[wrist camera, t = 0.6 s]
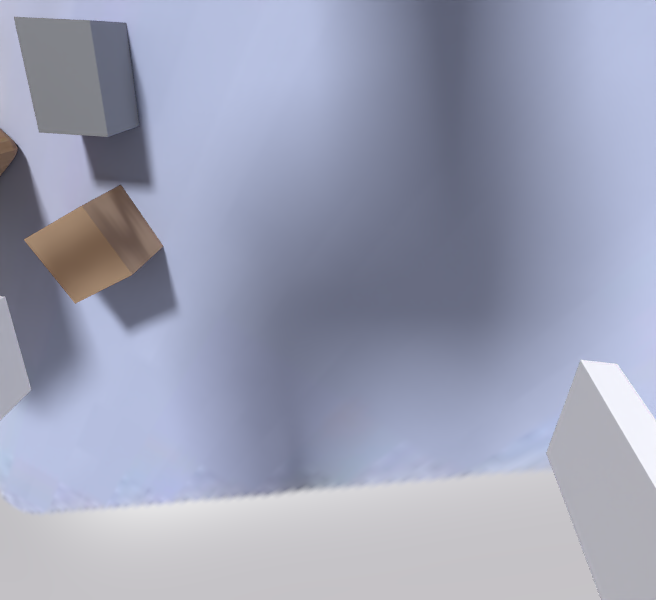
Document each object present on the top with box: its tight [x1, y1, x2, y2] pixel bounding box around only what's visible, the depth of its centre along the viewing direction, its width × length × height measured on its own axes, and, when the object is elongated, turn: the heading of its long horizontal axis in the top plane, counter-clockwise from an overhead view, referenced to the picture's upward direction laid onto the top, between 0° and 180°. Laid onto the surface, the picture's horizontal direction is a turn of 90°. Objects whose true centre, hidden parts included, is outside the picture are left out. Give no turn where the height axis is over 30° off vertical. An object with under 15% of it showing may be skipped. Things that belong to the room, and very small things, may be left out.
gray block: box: [14, 17, 139, 137], centre depth 35 cm, size 7×5×5 cm
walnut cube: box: [24, 185, 163, 303], centre depth 40 cm, size 6×6×6 cm
